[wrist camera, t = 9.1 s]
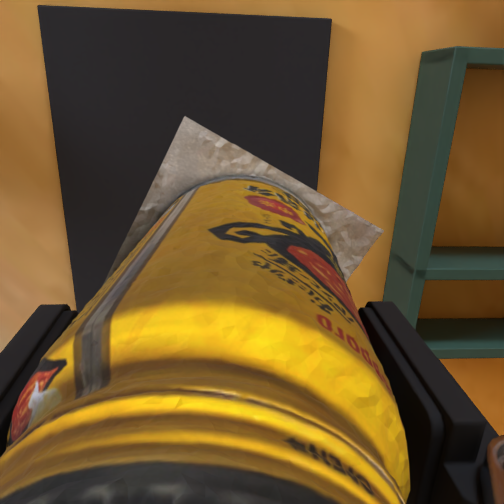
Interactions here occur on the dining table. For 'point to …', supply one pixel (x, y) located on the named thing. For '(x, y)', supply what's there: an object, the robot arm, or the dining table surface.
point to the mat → (170, 107)
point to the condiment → (216, 355)
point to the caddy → (427, 206)
